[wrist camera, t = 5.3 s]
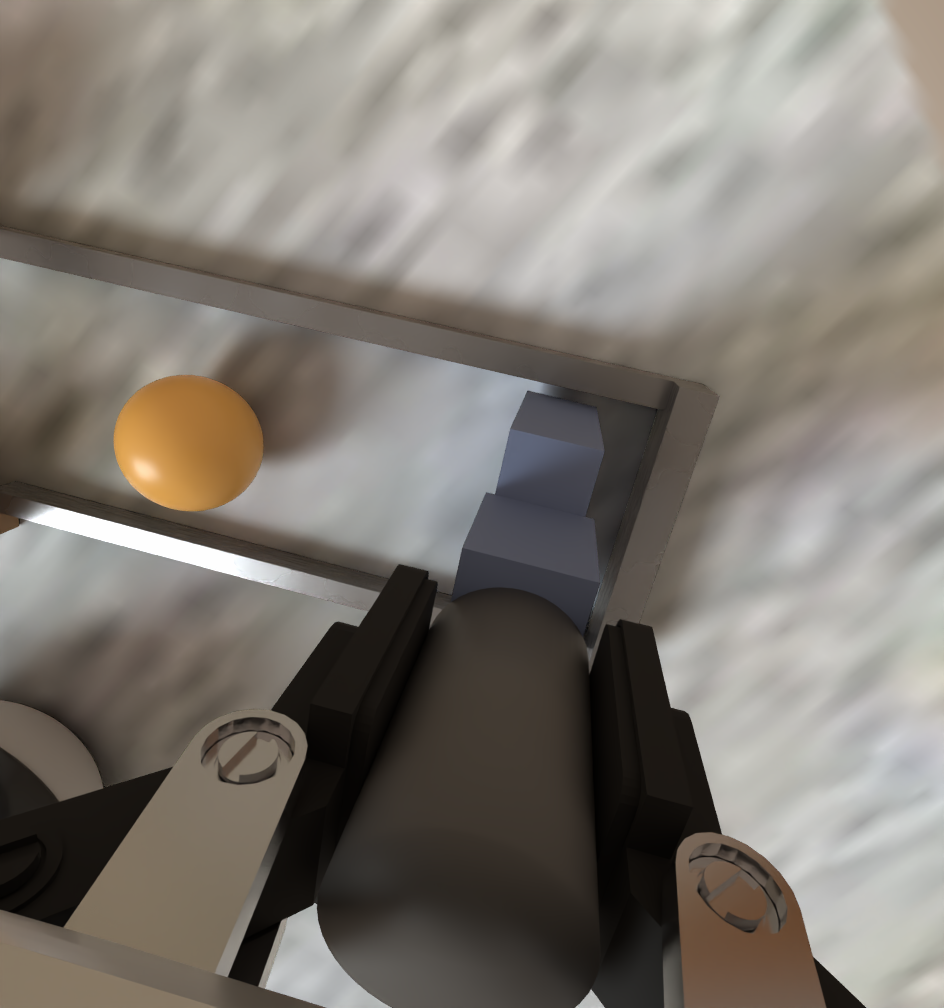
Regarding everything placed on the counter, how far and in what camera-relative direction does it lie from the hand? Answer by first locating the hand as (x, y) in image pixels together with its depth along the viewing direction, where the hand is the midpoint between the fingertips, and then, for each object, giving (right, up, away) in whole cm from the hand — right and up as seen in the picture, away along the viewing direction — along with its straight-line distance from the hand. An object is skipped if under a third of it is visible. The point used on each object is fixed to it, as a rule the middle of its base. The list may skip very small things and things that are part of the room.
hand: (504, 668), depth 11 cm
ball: (-9, +5, +7) cm, 12 cm away
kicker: (+1, +3, +8) cm, 9 cm away
